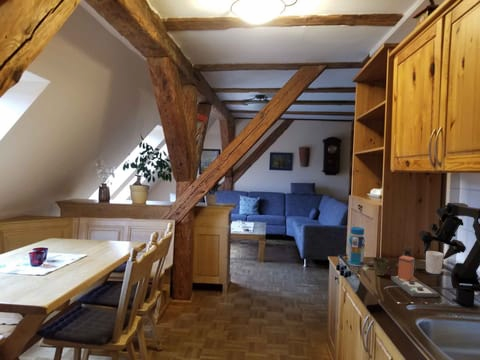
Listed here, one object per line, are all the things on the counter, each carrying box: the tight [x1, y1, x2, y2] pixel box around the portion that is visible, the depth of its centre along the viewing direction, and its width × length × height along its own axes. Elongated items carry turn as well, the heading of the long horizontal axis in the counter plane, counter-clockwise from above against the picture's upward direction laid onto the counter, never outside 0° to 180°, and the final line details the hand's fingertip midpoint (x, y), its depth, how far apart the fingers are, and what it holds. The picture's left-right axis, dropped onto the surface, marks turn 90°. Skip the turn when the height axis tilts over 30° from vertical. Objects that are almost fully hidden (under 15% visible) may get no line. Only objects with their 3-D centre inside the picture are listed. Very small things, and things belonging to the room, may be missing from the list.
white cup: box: [425, 250, 445, 275], centre depth 173 cm, size 8×8×10 cm
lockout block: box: [397, 255, 416, 281], centre depth 158 cm, size 5×5×10 cm
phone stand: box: [396, 245, 417, 273], centre depth 177 cm, size 9×6×12 cm, turn 62°
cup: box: [372, 257, 390, 277], centre depth 166 cm, size 8×7×8 cm
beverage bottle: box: [347, 226, 366, 267], centre depth 182 cm, size 8×8×20 cm
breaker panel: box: [390, 275, 440, 298], centre depth 151 cm, size 20×11×2 cm, turn 1°
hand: (433, 255), depth 155 cm, fingers open, 9 cm apart
